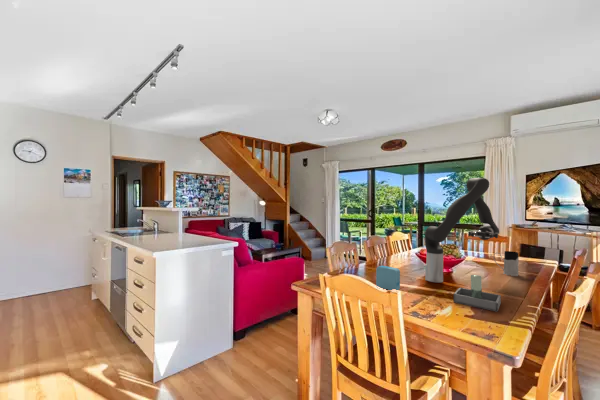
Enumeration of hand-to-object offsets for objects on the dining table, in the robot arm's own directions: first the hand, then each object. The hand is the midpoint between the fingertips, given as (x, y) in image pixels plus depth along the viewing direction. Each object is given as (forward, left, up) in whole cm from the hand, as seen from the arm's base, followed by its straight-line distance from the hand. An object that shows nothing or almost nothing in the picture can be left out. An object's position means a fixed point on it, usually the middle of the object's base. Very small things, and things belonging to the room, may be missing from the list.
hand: (481, 235), depth 157 cm
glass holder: (+8, +51, -30) cm, 60 cm away
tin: (+2, -26, -29) cm, 39 cm away
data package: (-39, -35, -30) cm, 61 cm away
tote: (+2, -26, -30) cm, 40 cm away
